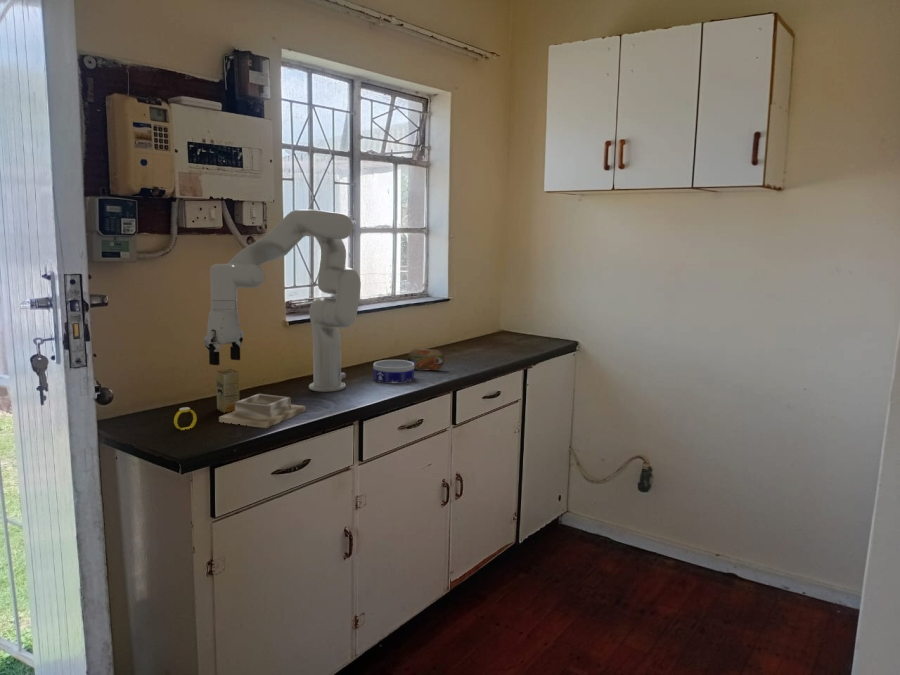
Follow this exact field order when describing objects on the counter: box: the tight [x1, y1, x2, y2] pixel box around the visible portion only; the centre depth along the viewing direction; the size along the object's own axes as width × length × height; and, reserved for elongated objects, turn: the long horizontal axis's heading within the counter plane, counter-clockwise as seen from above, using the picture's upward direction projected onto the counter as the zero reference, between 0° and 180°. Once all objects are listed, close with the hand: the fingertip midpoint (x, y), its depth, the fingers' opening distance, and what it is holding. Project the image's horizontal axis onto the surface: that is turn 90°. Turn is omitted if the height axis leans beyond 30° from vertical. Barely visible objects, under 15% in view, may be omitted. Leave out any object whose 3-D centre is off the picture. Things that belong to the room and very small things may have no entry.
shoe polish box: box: [215, 368, 240, 414], centre depth 207 cm, size 5×5×12 cm
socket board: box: [218, 393, 306, 429], centre depth 201 cm, size 20×16×5 cm
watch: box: [173, 406, 198, 431], centre depth 187 cm, size 6×3×6 cm, turn 139°
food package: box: [406, 348, 446, 371], centre depth 271 cm, size 15×3×8 cm, turn 76°
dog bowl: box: [372, 359, 415, 383], centre depth 254 cm, size 15×15×6 cm
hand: (225, 362), depth 205 cm, fingers open, 9 cm apart
